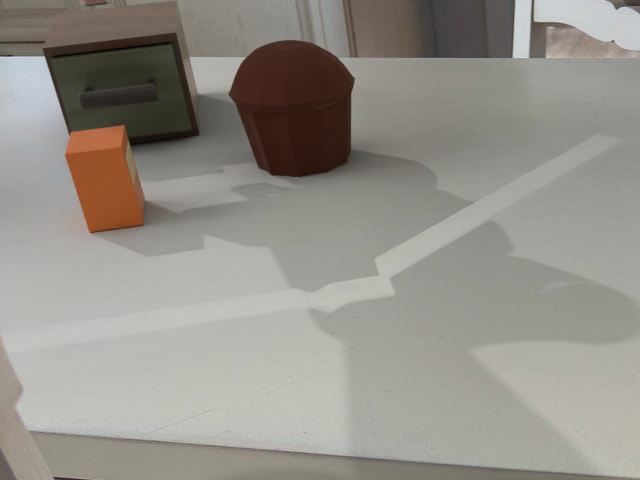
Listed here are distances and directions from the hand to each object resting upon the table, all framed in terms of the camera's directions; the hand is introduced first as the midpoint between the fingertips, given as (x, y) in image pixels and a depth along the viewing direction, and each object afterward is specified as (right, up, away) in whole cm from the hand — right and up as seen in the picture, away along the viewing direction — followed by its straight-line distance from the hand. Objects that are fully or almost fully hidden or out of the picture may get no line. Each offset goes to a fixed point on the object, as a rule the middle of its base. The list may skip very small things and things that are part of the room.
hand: (97, 4), depth 93 cm
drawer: (-1, -5, +13) cm, 14 cm away
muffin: (+18, -13, +4) cm, 23 cm away
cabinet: (-2, -4, +17) cm, 17 cm away
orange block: (+4, -21, -5) cm, 22 cm away
